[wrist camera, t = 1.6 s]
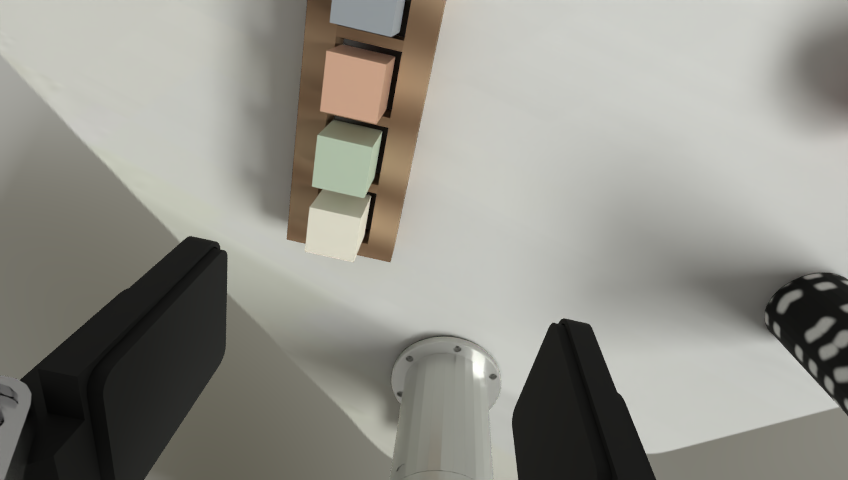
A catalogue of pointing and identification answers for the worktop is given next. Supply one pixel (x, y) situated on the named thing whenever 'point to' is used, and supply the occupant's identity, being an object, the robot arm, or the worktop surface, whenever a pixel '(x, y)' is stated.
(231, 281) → the worktop surface
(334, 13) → the grey block
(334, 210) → the cream block
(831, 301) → the spotted tube
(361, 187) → the key sage
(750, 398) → the worktop surface
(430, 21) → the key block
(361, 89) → the key terracotta
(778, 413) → the worktop surface
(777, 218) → the worktop surface
